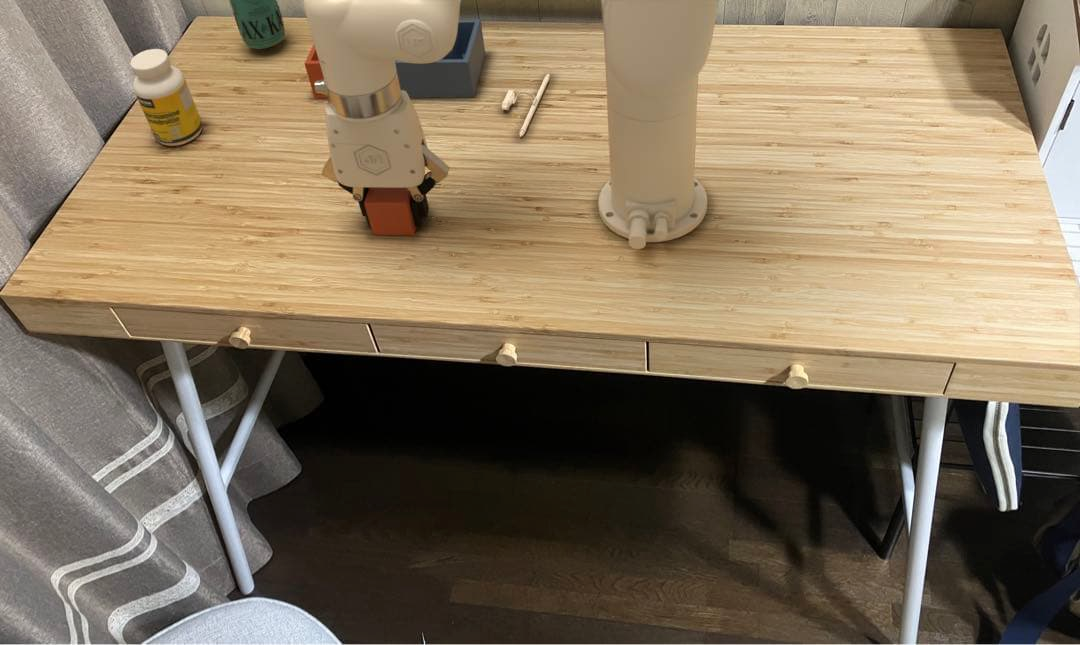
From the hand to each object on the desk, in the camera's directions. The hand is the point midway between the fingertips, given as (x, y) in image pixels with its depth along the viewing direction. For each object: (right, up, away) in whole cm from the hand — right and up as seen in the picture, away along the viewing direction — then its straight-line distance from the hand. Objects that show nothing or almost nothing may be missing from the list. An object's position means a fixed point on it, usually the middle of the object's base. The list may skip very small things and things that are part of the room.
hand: (397, 218), depth 120 cm
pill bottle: (-32, +13, +17) cm, 38 cm away
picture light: (+15, +16, +14) cm, 26 cm away
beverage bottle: (-23, +28, +30) cm, 47 cm away
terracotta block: (0, 0, 0) cm, 0 cm away
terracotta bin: (-8, +22, +22) cm, 32 cm away
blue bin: (+3, +22, +20) cm, 30 cm away
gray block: (+3, +22, +20) cm, 30 cm away
